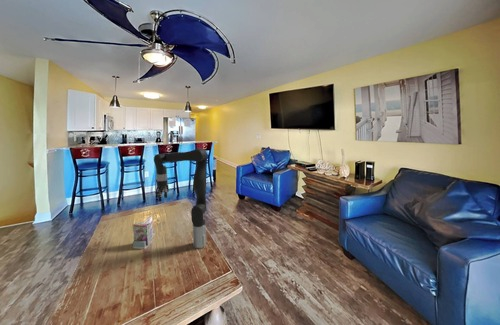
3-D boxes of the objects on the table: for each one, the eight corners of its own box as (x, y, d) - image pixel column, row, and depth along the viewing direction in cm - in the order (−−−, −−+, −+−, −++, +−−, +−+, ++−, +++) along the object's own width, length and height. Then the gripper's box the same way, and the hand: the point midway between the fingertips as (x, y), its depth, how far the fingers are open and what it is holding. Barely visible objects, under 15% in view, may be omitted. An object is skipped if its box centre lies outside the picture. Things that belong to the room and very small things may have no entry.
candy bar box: (133, 244, 143) (132, 224, 141) (138, 241, 148) (136, 221, 146) (147, 246, 142) (146, 225, 140) (151, 242, 147) (150, 222, 145)
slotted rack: (141, 241, 150) (140, 235, 150) (152, 242, 150) (151, 235, 149) (133, 248, 141) (132, 241, 140) (144, 248, 141) (144, 242, 140)
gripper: (161, 181, 138) (162, 203, 141) (171, 177, 152) (172, 196, 155) (152, 181, 139) (153, 202, 141) (162, 177, 153) (163, 196, 155)
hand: (163, 199), depth 148 cm, fingers open, 8 cm apart
